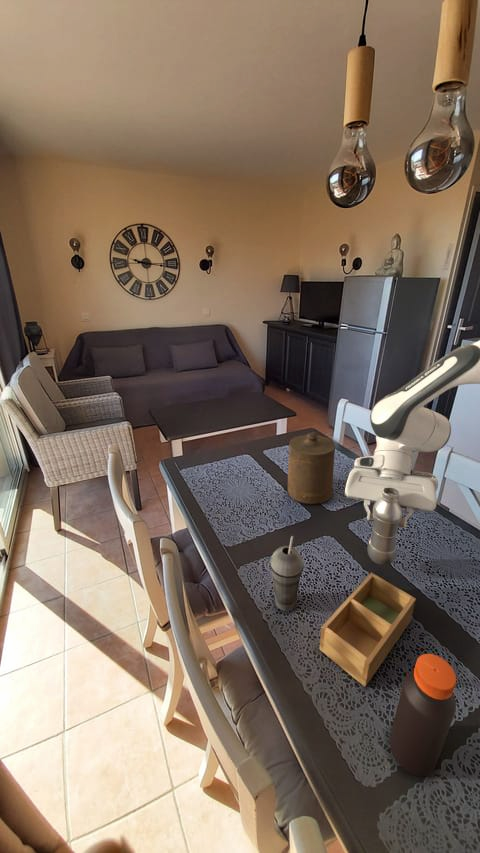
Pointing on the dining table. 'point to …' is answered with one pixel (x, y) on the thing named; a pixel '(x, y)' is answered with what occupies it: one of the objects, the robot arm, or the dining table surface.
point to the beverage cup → (286, 575)
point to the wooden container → (310, 468)
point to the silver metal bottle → (385, 527)
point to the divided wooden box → (366, 627)
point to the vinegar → (423, 715)
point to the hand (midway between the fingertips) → (385, 523)
